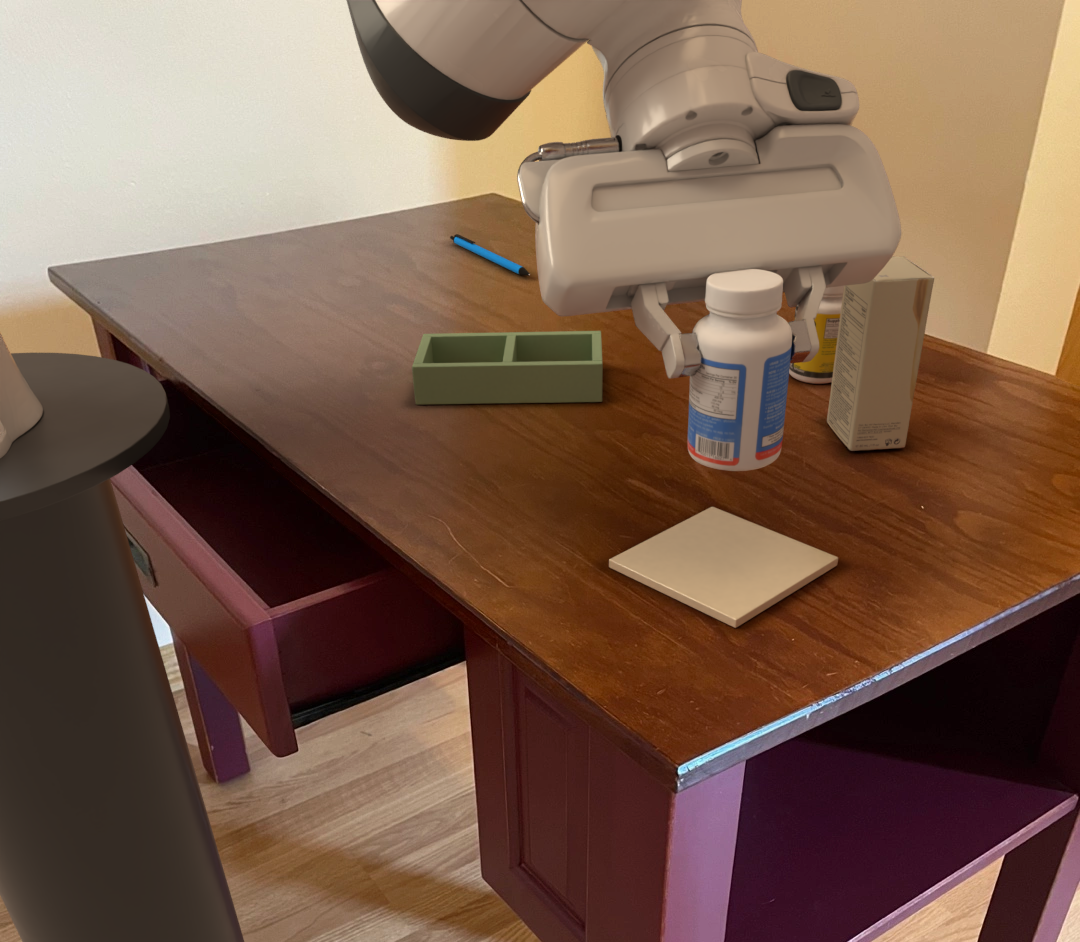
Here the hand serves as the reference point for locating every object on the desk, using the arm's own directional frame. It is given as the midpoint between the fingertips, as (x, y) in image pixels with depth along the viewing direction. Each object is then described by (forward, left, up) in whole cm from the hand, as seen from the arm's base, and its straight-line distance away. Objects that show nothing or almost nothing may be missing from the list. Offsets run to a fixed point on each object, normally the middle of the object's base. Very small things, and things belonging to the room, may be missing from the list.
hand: (745, 365), depth 59 cm
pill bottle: (0, +1, -6) cm, 6 cm away
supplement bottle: (+31, +16, -13) cm, 37 cm away
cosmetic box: (+23, +6, -13) cm, 27 cm away
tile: (0, +1, -13) cm, 13 cm away
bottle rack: (+12, +33, -13) cm, 37 cm away
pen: (+36, +64, -13) cm, 74 cm away
